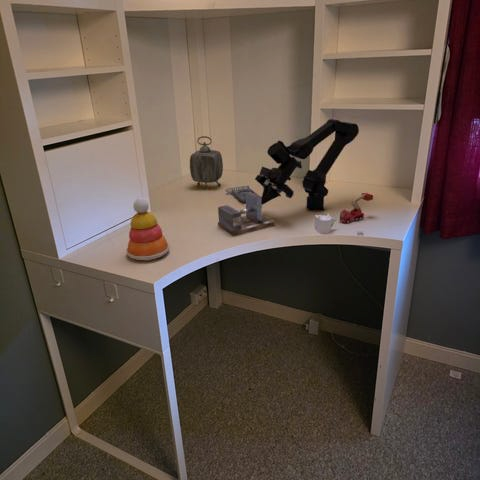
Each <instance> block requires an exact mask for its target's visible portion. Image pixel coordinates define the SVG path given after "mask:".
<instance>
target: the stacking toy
mask: <svg viewBox="0 0 480 480" xmlns="http://www.w3.org/2000/svg"><path fill="white" fill-rule="evenodd" d="M132 205H133V210H134V211H135V212H136V213H135V214H134V215H133V216H132V217H131V219H130V229H129V233H128V238H129V240H128V244H127V248H126V250H125V253H126V254H127V256H128V257H129V258H131V259H133V260H138V261H151V260H155V259H158V258H161V257H163V256H164V255H166V254H167V253H168V252H169V250H170V248H171V245H170V244H169V243H168V241H167V239H166V236H164V235H163V230H162V227H161V226H160V225H159V224H158V220H157V218H156V216H155V215H154V214H153V213H152V212H150V211H148V210H149V203H148V201H147V199H146V198H144V197H137V198H136V199H135V200H134V202H133V204H132Z"/></svg>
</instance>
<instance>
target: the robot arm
mask: <svg viewBox="0 0 480 480" xmlns="http://www.w3.org/2000/svg"><path fill="white" fill-rule="evenodd" d="M359 129H360V128H359V126H358V124H357V123H353V122H347V121H341V120H338V119H333V118H330V119H328V120H327V121H326V122H325V123H323V125H321V126H320V127H319V128H317V129H316V130H314V131H313V132H312V133H311V134H309V135H308V136H306V137H303V138H300V139H298V140H295V141H294V142H291V143H290V145H288V146H286V145H285V143H284V142H283V141H282V140H277V142H275V143H273V144H272V145H270V146H269V147H268V149H267V152H266V153H267V154H268V156H269V157H270V158H271V159H272V160H273V161H274V162H275V163H276V164H277V165H278V164H279V166H278V167H271V168H269V167H266V166H261V168H260V172H259V174H257V175H256V176H255V178H254V180H255V181H256V182H257V183H258V184H259V185H261V186H262V188H263V190H262V195H261V204H262V206H263V205H265V204H267V203H269V202H270V201H272V200H274V199H276V198H278V197H282V195H281V194H282V192H283V193H284V194H285V197H286V198H289V199H292V197H293V196H294V195H295V194H294V190H293V189H292V188H291V187H290V186H289V185H288V184H286V183H287V181H289V182H290V181H291V179H292V177H291V176H292V174H293V173H294V171H295V170H296V169H302V166H303V165H302V161H301V160H305V159H308V157H309V156H310V155H311V154H312V153H313V151H314V148H315V147H317V146H318V145H320V143H322V142H323V141H324V140H326V139H327V138H328V137H330V136H331V135H332V134H333V133H334V140H333V141H332V143H331V144H330V146H329V148H328V149H327V151H326V152H325V154H324V155H323V157H322V158H321V160H320V161H319V163H318V165H317V167H316V168H315V169H313V170H311V169H309V170H307V172H306V174H305V176H304V177H302V178H303V180H302V182H301V183H302V187H303V189H304V192H305V193H306V194H307V196H306V205H305V206H306V208H307V211H325V208H324V206H325V205H324V204H325V203H324V202H325V198H326V196H328V194H329V189H328V188H327V187H326V186H325V185H326V182H327V176H328V173H329V171H330V169H331V168H332V167H333V165H334V163H335V162H336V160H337V159H338V157H339V156H340V155H341V153H342V151H343V150H344V148H345V147H346V146H347V145H348V144H350V143H352V142H353V141H354V140H355V138H356V137H358V135H359V132H360V130H359ZM296 158H297V159H296ZM298 159H300V160H298Z"/></svg>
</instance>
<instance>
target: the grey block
mask: <svg viewBox="0 0 480 480" xmlns="http://www.w3.org/2000/svg"><path fill="white" fill-rule="evenodd" d="M256 194H257V193H256ZM256 194H254V193H252V192H245V195H246V202H245V208H243V209H240V210H239V212H241V215H243V214H245V216H246V217H247V218H249V219H251V220H252V221H254V222H256V223H261V224H263V222H262V216H263V214H262V213H263V212H262V211H263V210H262V207H263V205H262V204H261V197H262V195H261V196H260V195H259V194H258V195H256Z"/></svg>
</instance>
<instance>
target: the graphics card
mask: <svg viewBox="0 0 480 480" xmlns="http://www.w3.org/2000/svg"><path fill="white" fill-rule="evenodd" d="M225 192H226V193H225V196H229V195H232V196H233V198H234V197H235V198H237V200H238V201H239V202H241V203H246V195H245V192H252V193H254V194H256V195H259V194H258V193H257V192H255V191H254V190H253V189H251V188H250V185H241V186H236V187H231V188H230V187H229V188H227V189H225Z"/></svg>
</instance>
